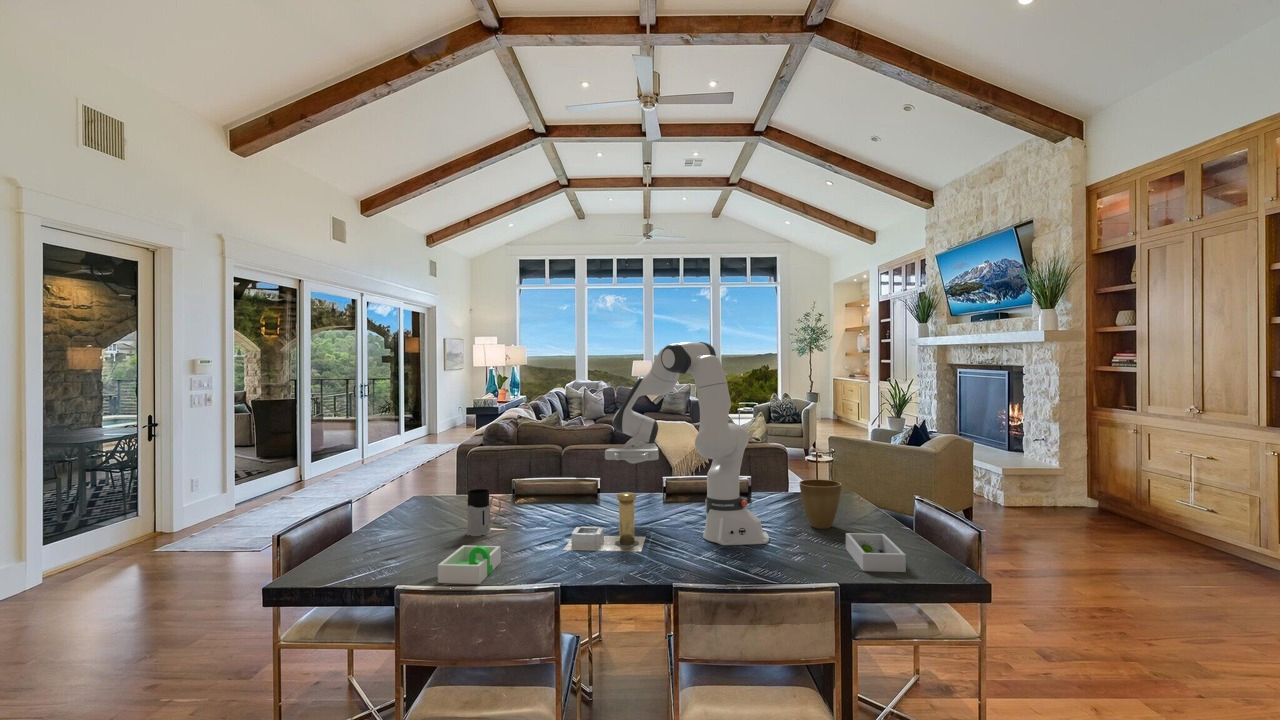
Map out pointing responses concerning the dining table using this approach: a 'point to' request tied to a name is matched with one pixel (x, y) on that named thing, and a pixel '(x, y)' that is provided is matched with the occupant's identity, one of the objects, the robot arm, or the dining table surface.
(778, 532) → the dining table surface
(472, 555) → the mechanical part
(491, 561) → the parts tray
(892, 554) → the flower tray
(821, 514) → the plant pot
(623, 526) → the brass flanged pin
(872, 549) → the decorative flower
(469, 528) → the glass holder
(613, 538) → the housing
